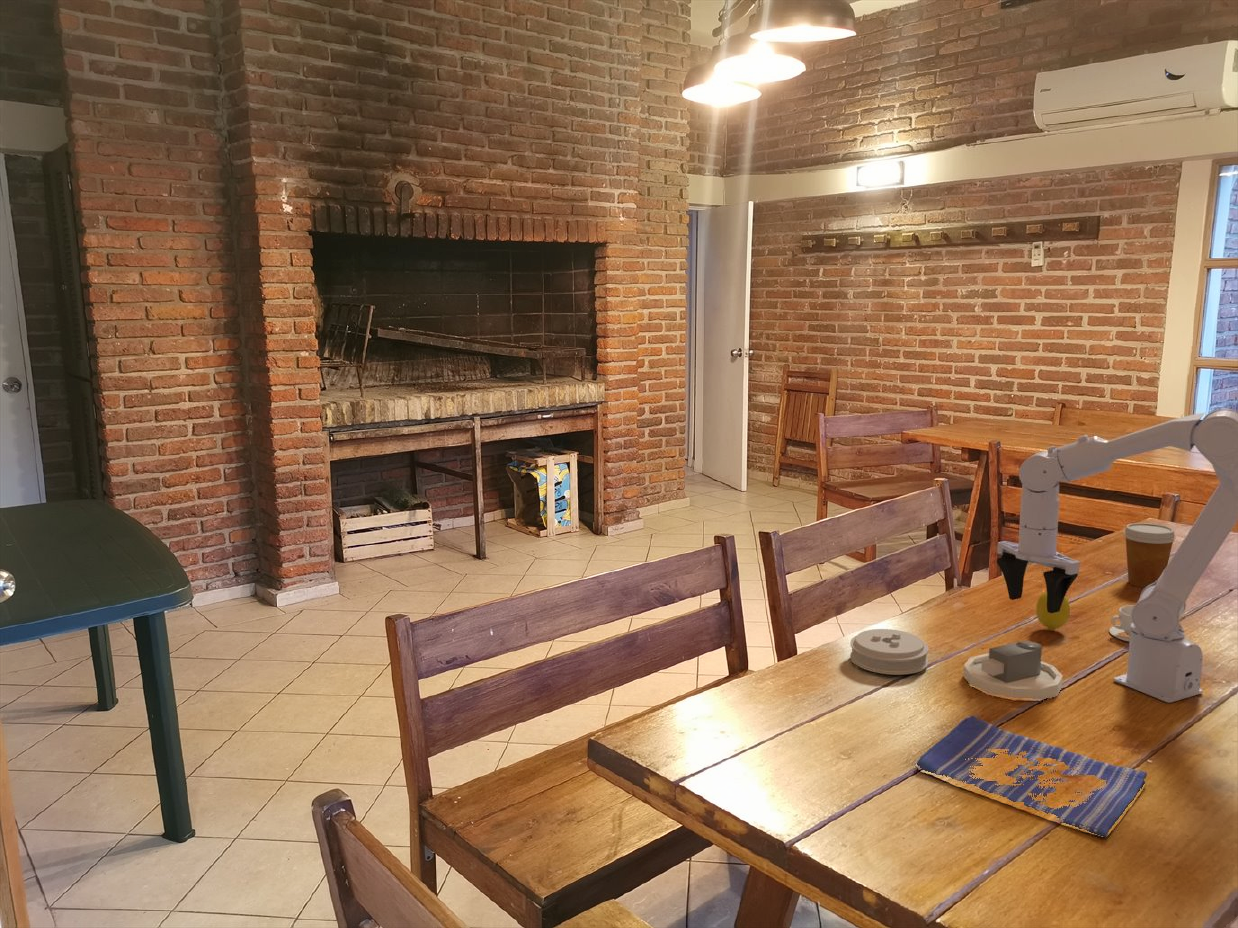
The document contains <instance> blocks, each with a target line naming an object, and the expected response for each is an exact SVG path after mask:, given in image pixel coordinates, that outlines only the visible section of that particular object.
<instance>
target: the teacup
mask: <svg viewBox="0 0 1238 928" xmlns="http://www.w3.org/2000/svg"><path fill="white" fill-rule="evenodd" d="M1134 606H1135V604H1134V605H1132V604H1131V605H1130V604H1129V605H1124V606H1121V607H1119V609H1118V615H1117V614H1116V615H1113V616H1112V617H1111V620H1110V621H1111V625H1112V626H1111V627H1109V629H1108V632H1109V633H1110V635H1112V636H1113V637H1115V638H1117V639H1119V640H1122V641H1125V642H1128V643H1129V642H1130V638H1129V637H1125V636H1121V635H1118V633H1126V634H1127V635H1129V636H1130V629H1131V624H1132V623H1133V621H1132V616H1131V614H1132V609H1133V607H1134ZM1117 619H1118V621H1119V624H1115V621H1116V620H1117Z"/></svg>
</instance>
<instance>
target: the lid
mask: <svg viewBox="0 0 1238 928" xmlns="http://www.w3.org/2000/svg"><path fill="white" fill-rule="evenodd" d="M850 647H851V652H850V654H849V657H850V661H851V662H852V663H853V664H854V665H855V666H857V667H859V668H861V669H864V670H866V671H869V672H873V673H876V674H877V673H879V674H883V675H884V674H885V675H892V676H893V675H894V676H896V675H899V676H901V675H903V676H904V675H910V674H911V675H912V674H917V673H919V672H922V671H923V670H925V669H927V668H928V666H929V660H928V658H927V657H928V654H929V650H930V649H929V645H928V644H927V643H926V642H925V641H924V640H923V639H922V638H920V637H919V636H917V635H916V634H913V633H911V632H907V631H905V630H904V631H903V630H898V629H890V628H874V629H869V630H863V631H861V632H859V633H858V634H857V635H855V636H854V637H852V638H851V639H850Z"/></svg>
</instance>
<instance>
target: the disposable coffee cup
mask: <svg viewBox="0 0 1238 928" xmlns="http://www.w3.org/2000/svg"><path fill="white" fill-rule="evenodd" d="M1122 533H1123V534H1124V537H1125V548H1126V549H1125V550H1126V564H1127V577H1128V578H1127V579H1128V583H1129V584H1130V585H1133V586H1135V587H1139V588H1143V589H1145V588H1146V587H1147V586H1148V585H1150V584H1152V583H1154V582H1156V581H1157V580H1158V578H1159V577H1160V576H1161V574H1162V572H1163V571H1164V570H1165V568H1166V567H1167V565H1168V564H1169V562H1170V561H1169V560H1170V555H1171V551H1172V547H1173V543H1174V542H1175V540H1176V539H1177V535H1176V534H1175V530H1174V529H1173V528H1172V527H1169V526H1166V525H1162V524H1156V523H1145V522H1135V523H1128V524H1127V525H1126V527H1125V529H1124V530H1123V532H1122Z"/></svg>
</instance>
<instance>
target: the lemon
mask: <svg viewBox="0 0 1238 928" xmlns="http://www.w3.org/2000/svg"><path fill="white" fill-rule="evenodd" d="M1070 608H1071V605H1070V601H1069V599H1068V597H1067V596H1066V595H1065V597H1064V600H1063V602H1062V605H1061V608H1060V611H1059V612H1055V613H1049V612H1047V590H1046V591H1044V592H1043V593H1041V594H1040V596H1039V598H1038V599H1037V602H1036V611H1035V612H1036V616H1037V619H1038V621H1039V622H1040V623H1041V624H1042V625H1043V626H1044V627H1046V628H1047V629H1048V630H1049V631H1051V632H1053V631H1055V630H1056V629H1059V628H1061V627H1063V626H1064V625H1066V624H1067V622H1068V620H1069V619H1070V615H1071V609H1070Z"/></svg>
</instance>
